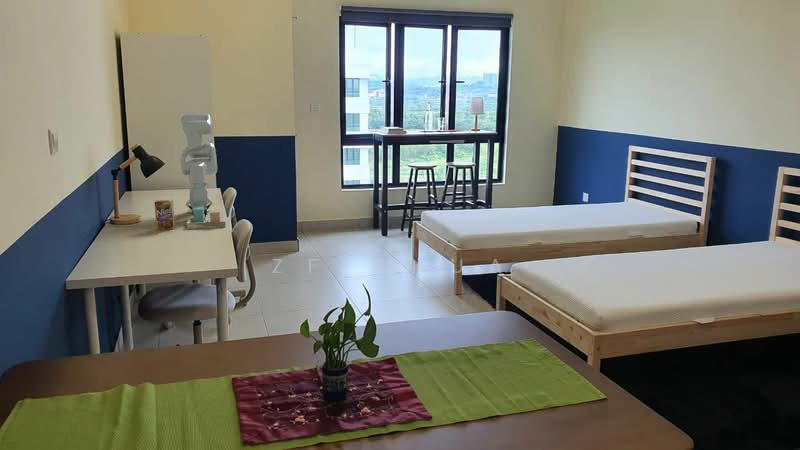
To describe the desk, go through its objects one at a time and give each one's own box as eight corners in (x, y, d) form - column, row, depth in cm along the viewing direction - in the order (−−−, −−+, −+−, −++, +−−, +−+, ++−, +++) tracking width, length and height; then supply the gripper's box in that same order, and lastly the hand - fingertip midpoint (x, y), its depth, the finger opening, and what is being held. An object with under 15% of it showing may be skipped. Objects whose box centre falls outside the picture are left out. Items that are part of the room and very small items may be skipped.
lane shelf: (188, 224, 340) (188, 219, 339) (225, 223, 344) (225, 217, 344) (187, 229, 330) (186, 223, 329) (225, 227, 335) (225, 221, 334)
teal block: (195, 217, 357) (194, 204, 356) (204, 217, 359) (203, 203, 357) (194, 223, 343) (193, 209, 341) (203, 223, 344) (202, 209, 342)
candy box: (156, 229, 328) (153, 201, 325) (158, 227, 332) (155, 199, 329) (173, 229, 329) (171, 201, 326) (175, 227, 334) (173, 199, 330)
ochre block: (211, 225, 340) (210, 210, 338) (220, 224, 341) (219, 210, 339) (210, 227, 335) (209, 212, 333) (220, 226, 336) (219, 212, 334)
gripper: (213, 184, 358) (215, 214, 362) (182, 185, 354) (184, 216, 358) (213, 186, 351) (215, 217, 355) (181, 187, 347) (183, 218, 351)
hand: (200, 216), depth 356 cm, fingers open, 5 cm apart
